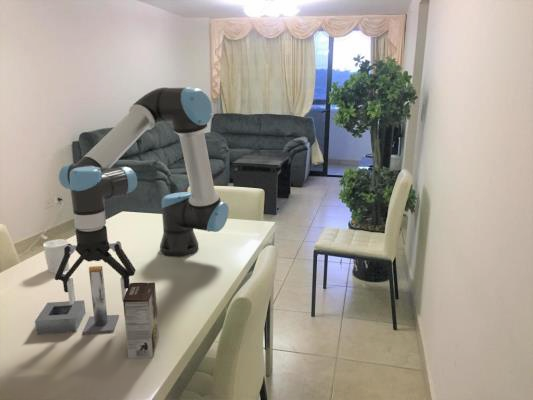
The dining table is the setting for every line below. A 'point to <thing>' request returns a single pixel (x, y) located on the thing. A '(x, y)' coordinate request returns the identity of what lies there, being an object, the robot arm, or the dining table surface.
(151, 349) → the coffee box
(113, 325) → the mat
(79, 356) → the dining table surface
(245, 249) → the dining table surface
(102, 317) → the grey long rod
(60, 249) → the white cup
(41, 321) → the block
